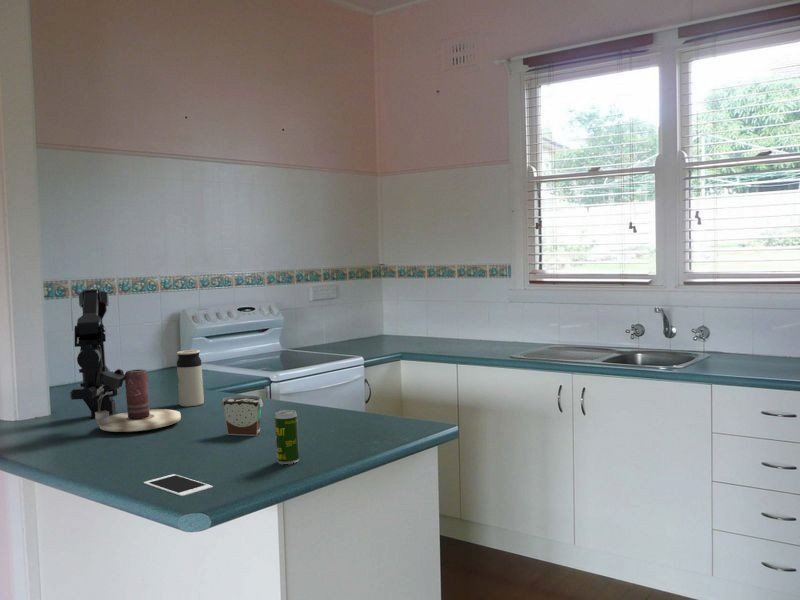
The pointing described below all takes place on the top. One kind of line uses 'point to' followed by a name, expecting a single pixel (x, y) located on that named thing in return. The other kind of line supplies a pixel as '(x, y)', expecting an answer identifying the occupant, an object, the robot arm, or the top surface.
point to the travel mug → (190, 378)
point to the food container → (242, 415)
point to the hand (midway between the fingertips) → (96, 416)
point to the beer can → (286, 437)
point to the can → (137, 394)
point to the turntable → (136, 420)
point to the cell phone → (178, 485)
